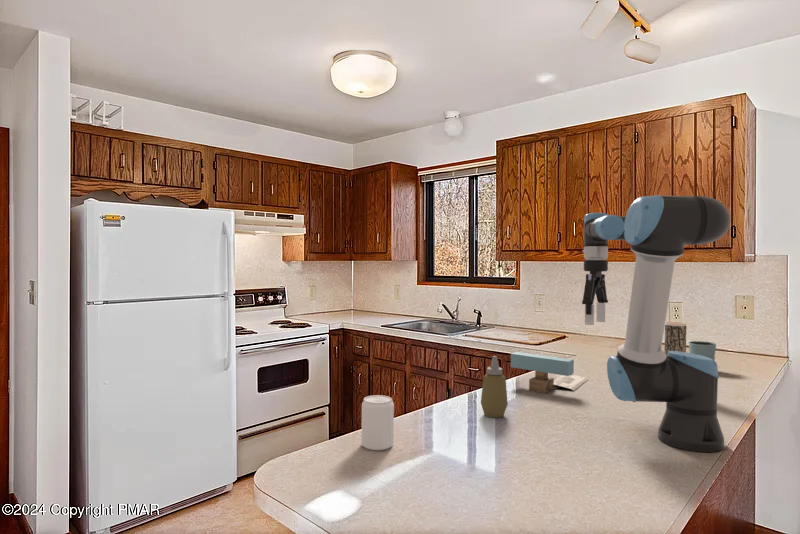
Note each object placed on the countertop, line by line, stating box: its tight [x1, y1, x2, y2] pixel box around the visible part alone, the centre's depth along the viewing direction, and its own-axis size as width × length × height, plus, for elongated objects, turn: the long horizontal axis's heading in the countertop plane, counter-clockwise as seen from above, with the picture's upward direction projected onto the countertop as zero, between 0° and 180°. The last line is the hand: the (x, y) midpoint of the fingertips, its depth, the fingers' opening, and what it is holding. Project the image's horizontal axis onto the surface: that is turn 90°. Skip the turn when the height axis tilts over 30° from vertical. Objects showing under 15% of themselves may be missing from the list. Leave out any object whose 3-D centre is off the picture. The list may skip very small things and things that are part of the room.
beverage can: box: [360, 394, 395, 451], centre depth 132 cm, size 8×8×12 cm
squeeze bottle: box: [480, 355, 508, 418], centre depth 159 cm, size 8×8×18 cm
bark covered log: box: [663, 321, 687, 356], centre depth 187 cm, size 7×7×25 cm
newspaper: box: [553, 374, 589, 392], centre depth 200 cm, size 23×12×2 cm, turn 147°
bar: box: [510, 351, 575, 376], centre depth 190 cm, size 5×22×5 cm, turn 51°
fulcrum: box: [528, 371, 555, 394], centre depth 190 cm, size 8×6×7 cm
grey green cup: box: [688, 340, 717, 362], centre depth 225 cm, size 10×10×12 cm
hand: (595, 323), depth 174 cm, fingers open, 13 cm apart
